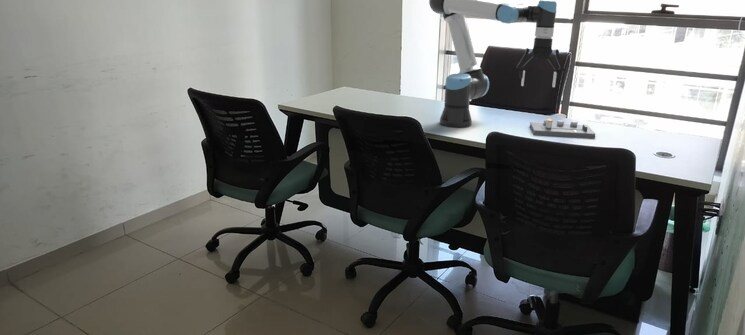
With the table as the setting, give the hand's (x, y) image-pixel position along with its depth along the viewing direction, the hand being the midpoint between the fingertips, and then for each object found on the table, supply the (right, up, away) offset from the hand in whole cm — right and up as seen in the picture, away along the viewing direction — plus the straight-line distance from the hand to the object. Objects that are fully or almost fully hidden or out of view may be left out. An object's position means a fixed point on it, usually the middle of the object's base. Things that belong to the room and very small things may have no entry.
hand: (537, 86), depth 237 cm
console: (+12, -20, +6) cm, 24 cm away
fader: (+6, -18, +4) cm, 19 cm away
